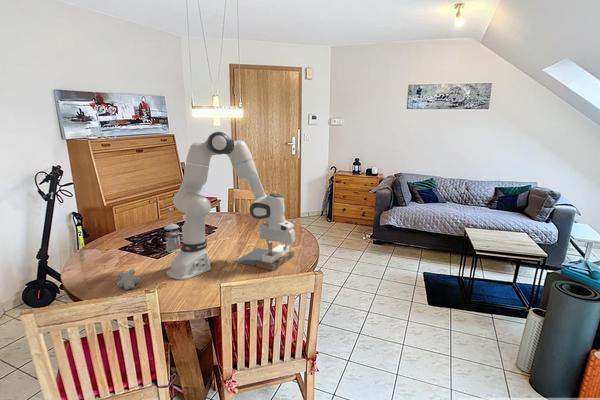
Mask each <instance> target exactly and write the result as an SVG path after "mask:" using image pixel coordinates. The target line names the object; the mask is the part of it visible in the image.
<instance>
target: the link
mask: <svg viewBox="0 0 600 400" xmlns="http://www.w3.org/2000/svg"><path fill="white" fill-rule="evenodd" d="M284 246H286V245H285V244H278V246H275V247H274V248H273V247H272V256H269V254H268V252H267V253H265V254H264V255H262V261H264V262H269V263H273V262H274V261H276V260H277V259H279V258H280V257H282V256H283V255H285V254H286V253H288V252H289V250H290V245H288V247H287V250H286V251H285V250H283V247H284Z"/></svg>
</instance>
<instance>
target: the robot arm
mask: <svg viewBox="0 0 600 400" xmlns="http://www.w3.org/2000/svg"><path fill="white" fill-rule="evenodd" d="M187 152H188V153H187V156H186V159H185V160H186V161H185V166H184V173H183V176H182V177H183V178H182V181H181V184H180V186H179V189H178V191H177V192H176V193H175V194H174V196H173V199H172V203H173V206H174V207H175V209H177V210H178V211H179V212H181V213H184V215H185V216H184V217H185V218H184V224H183V225H182V226H181V232H182V233H181V236H182V243H181V244H180V245H179V244H178V243H177V244H178V245H177V248H179V249H181V250H180V251H178V254H177V255H176V256H175V257H174V258H173V260H171V263H170V264H171V265H170V269H169V270H167V271H166V276H167V277H169V278H172V279H175V280H179V281H180V280H182V281H184V280H189V279H191V278H194V277H197V276H199V275H202V274H203V273H206V272H208V271H211V270H212V267H211V266H212V264H211V261H210V259H209V253H208V250H207V249H208V248H207V247H208V242H207V238H206V220H207V217H208V215H209V214H210V212H211V211H212V203H211V201H210V200H209V199H208V198H207V197H205V196H204V195H202V194H200V193H201V192H202V188H203V187H204V185H206V184H207V182H208V174H209V167H210V161H211V158H212V157H213V156H214V155H215V156H217V155H218V156H221V155H226V156H227V157H228V158H229V161H230V163H231V165H232V168H233V170H234V174H236V176H237V177H238V178H239V179H241V180H243V181H245V182H247V183H248V184H249V187H250V189H251V191H252V193H253V196H254V201H253V202H252V203H251V204H250V206H249V214H250V216H251V217H252V218H253V219H256V220H263V219H267V222H265V221H263V222H261V223H260V224H259V225H260V227H259V228H260V229H259V238H260V239H261V240H265V242H266V243H267V244H266V245H268V243H271V241H272V242H278V243H283V244H284V245H285V246H284V247H283V250H285V251H286V250H287V247H288V246H290V245H292V244H294V243H295V242H296V232H295V229H294V227H295V225H294V223H292V222H290V221H288V220H287V219H286V216H285V212H286V209H285V199H284V196H282V195H281V194H280V193H274V192H273V193H269V194H267V192H266V190H265V188H264V185H263V183H262V180H261V178H260V176H259V173H258V171H257V166H256V163H255V161H254V157H253V155H252V153H251V151H250V149H249V147H248V145H247V143H246V142H245V141H244V140H242V139H241V140H238V139H237V140H234V139H232V138H231V137H229V135H227V134H226V133H225V132H222V131H215V132H212V133H211V134H209V136H208V137H207V139H206V140H205V142H201V141H197V142H193V143H192V144H191V145H190V146H189V149H188V151H187Z"/></svg>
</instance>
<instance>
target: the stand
mask: <svg viewBox="0 0 600 400" xmlns="http://www.w3.org/2000/svg"><path fill="white" fill-rule="evenodd" d="M267 247H268V249H267V250H268V254H269V256H272V249H273V242H270V243H268V244H267ZM294 257H295V250H291V249H289V252H288V253H286V254H285V255H283V256H282V257H280V258H279V259H277V260H276V261H274V262H273V263H269V262H264V261H262V259H260V260H258V261H257V265H256V268H258V269H262V270H263V269H264V270H268V271H272V272H273V271H275V270H277V269H278V268H279V267H281V266H282V265H284V264H285V263H286V262H288V261H290V260H291V259H292V258H294Z"/></svg>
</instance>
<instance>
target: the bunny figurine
mask: <svg viewBox="0 0 600 400" xmlns="http://www.w3.org/2000/svg"><path fill="white" fill-rule="evenodd" d="M134 274H136V270H135V269H130V270H129V271H127V272H123V271H118V272H117V275H116V276H117V277H119V278H120V280H118V281H116V287H117V288H124V289H125V291H127V290H130V289H135V288H136V287H135V286H136V285H137V284H138V283H141V279H140V278H141V277H139V276H134ZM124 289H123V290H124Z"/></svg>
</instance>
